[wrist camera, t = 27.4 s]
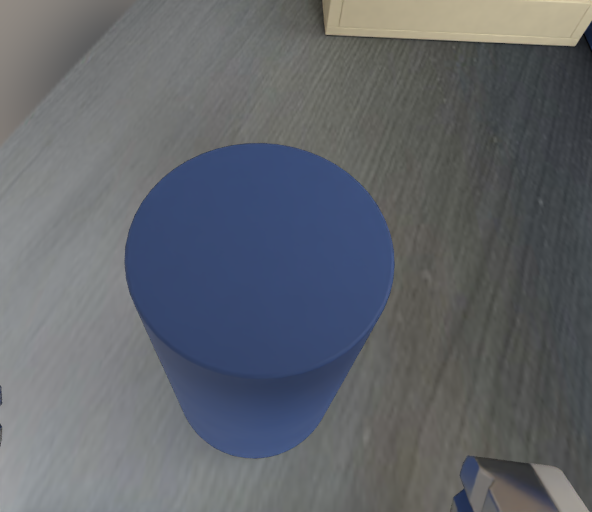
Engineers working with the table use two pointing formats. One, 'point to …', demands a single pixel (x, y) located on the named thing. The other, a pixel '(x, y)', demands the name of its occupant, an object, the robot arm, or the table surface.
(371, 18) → the cream tray
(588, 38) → the blue tray
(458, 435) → the table surface
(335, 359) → the blue pillar
